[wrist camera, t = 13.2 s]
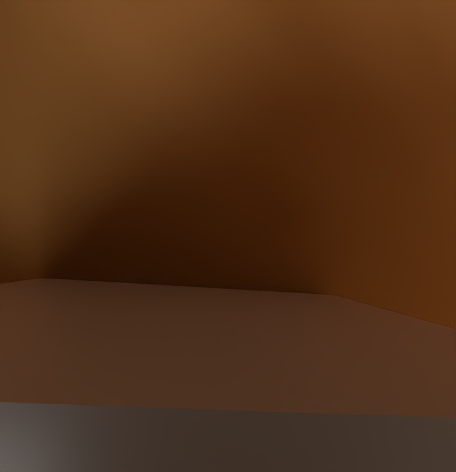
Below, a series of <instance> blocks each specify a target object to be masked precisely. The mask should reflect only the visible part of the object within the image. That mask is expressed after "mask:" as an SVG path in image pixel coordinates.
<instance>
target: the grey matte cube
mask: <svg viewBox="0 0 456 472" xmlns="http://www.w3.org/2000/svg"><path fill="white" fill-rule="evenodd" d="M0 472H456V329H455V328H451V327H447V326H444V325H440V324H437V323H433V322H429V321H426V320H422V319H419V318H415V317H412V316H408V315H404V314H401V313H397V312H394V311H390V310H386V309H383V308H379V307H376V306H372V305H368V304H365V303H361V302H358V301H354V300H351V299H347V298H343V297H340V296H336V295H328V294H311V293H294V292H276V291H259V290H242V289H224V288H207V287H190V286H172V285H155V284H138V283H120V282H103V281H86V280H68V279H51V278H37V279H30V280H23V281H16V282H9V283H2V284H0Z"/></svg>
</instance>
